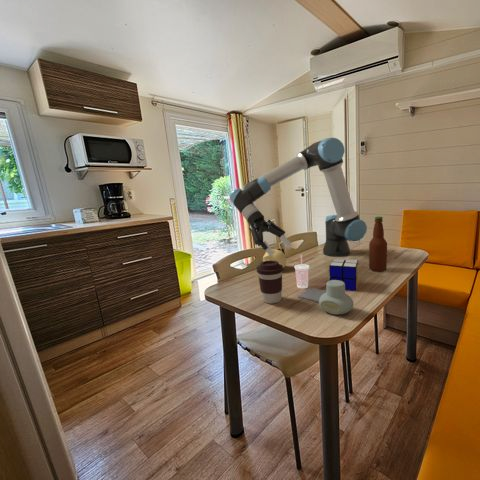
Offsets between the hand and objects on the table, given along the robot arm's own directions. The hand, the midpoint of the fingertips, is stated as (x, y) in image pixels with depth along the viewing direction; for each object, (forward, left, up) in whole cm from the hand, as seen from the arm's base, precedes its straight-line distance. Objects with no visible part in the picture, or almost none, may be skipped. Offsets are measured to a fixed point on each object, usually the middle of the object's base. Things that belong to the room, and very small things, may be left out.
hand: (281, 250), depth 115 cm
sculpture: (-11, -17, -15) cm, 25 cm away
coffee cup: (+16, +9, -15) cm, 24 cm away
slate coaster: (+2, +19, -15) cm, 24 cm away
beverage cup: (-2, +9, -15) cm, 18 cm away
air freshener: (+7, +31, -15) cm, 35 cm away
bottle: (-40, +22, -15) cm, 48 cm away
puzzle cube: (-14, +21, -15) cm, 30 cm away
